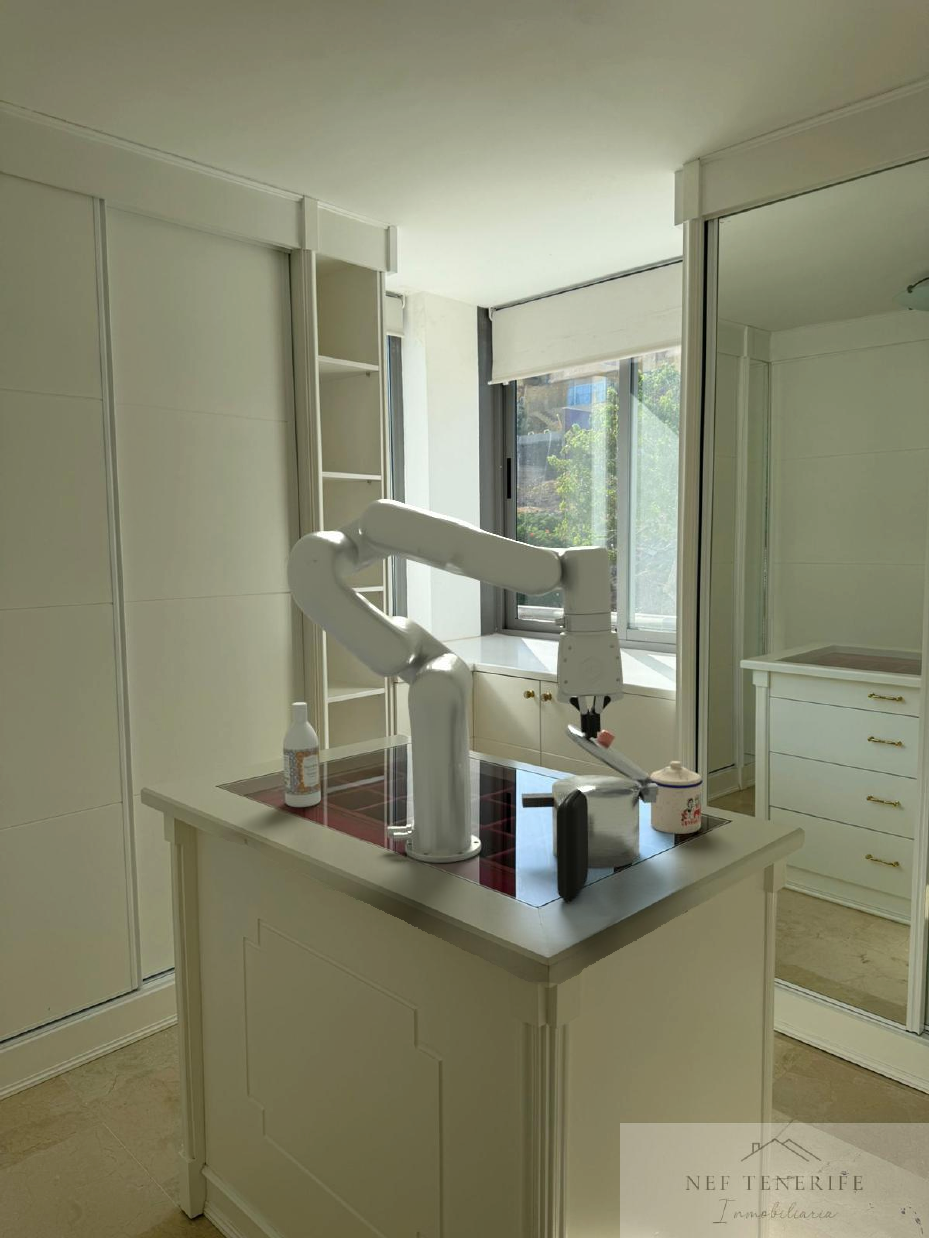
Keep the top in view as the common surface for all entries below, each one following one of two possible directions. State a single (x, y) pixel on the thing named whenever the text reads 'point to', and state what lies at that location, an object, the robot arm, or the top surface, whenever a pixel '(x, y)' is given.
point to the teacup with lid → (677, 800)
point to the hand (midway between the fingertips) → (590, 736)
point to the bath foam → (301, 760)
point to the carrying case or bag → (572, 845)
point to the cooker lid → (607, 753)
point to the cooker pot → (602, 815)
